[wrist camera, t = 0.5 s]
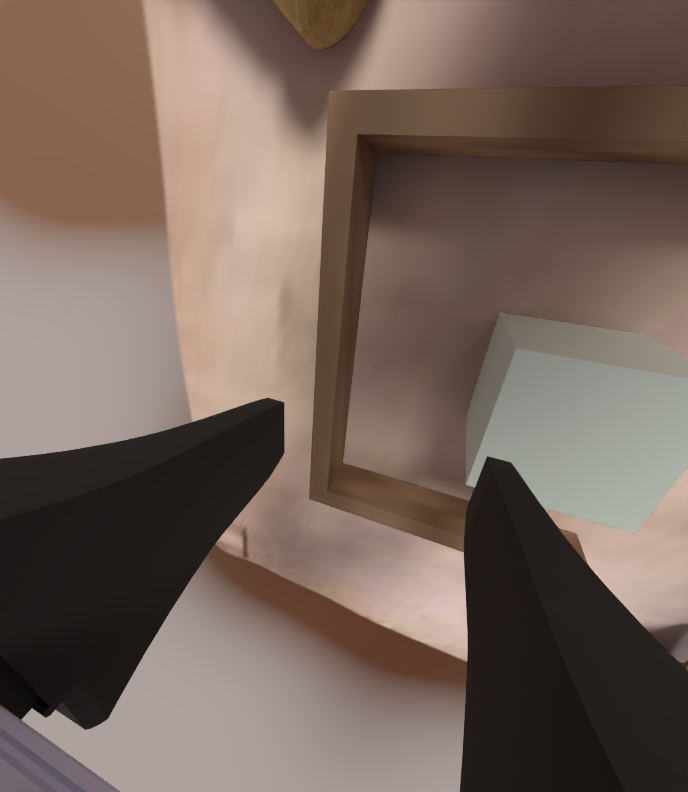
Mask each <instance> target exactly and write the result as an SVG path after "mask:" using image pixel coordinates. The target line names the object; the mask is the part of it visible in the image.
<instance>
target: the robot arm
mask: <svg viewBox="0 0 688 792" xmlns="http://www.w3.org/2000/svg"><path fill="white" fill-rule="evenodd" d="M283 454H284V402H281V401H277V400H273V399H270V398H265V399H261V400H258V401H255V402H251V403H248V404H245V405H242V406H239V407H237V408H234V409H231V410H228V411H225V412H222V413H219V414H216V415H213V416H210V417H207V418H204V419H201V420H198V421H195V422H192V423H188V424H185V425H182V426H179V427H175V428H172V429H169V430H165V431H162V432H158V433H154V434H150V435H146V436H142V437H138V438H133V439H129V440H124V441H120V442H115V443H110V444H103V445H98V446H92V447H86V448H81V449H75V450H69V451H62V452H55V453H47V454H40V455H31V456H22V457H13V458H3V459H0V792H120V791H119V790H117V789H116V788H115V787H113V786H112V785H110V784H109V783H108V782H106V781H105V780H103V779H102V778H101V777H99V776H98V775H97V774H95V773H94V772H92V771H91V770H90V769H88V768H87V767H85V766H84V765H83V764H81V763H80V762H79V761H77V760H76V759H74V758H73V757H71V756H70V755H69V754H67V753H66V752H65V751H63V750H62V749H60V748H59V747H58V746H56V745H55V744H53V743H52V742H51V741H49V740H48V739H47V738H45V737H44V736H42V735H41V734H40V733H38V732H37V731H35V730H34V729H33V728H31V727H30V726H29V725H27V724H26V723H24V722H23V721H22V720H21V719H22V718H23V717H24V716H25V715H26V714H27V712H29V711H30V710H31V708H33V709H34V710H35V711H37V712H39V713H40V714H41V715H43V716H44V717H48V716H50V715H51V714H52V712H54V710H55V709H56V710H57V711H59V712H60V713H61V714H63V715H65V716H66V717H67V718H69V719H70V720H72V721H73V722H75V723H76V724H78V725H79V726H81V727H82V728H84V729H90V728H93V727H95V726H97V725H99V724H101V723H102V722H104V721H105V720H107V719H108V718H109V716H110V714H111V712H112V710H113V708H114V707H115V705H116V703H117V701H118V699H119V698H120V696H121V694H122V692H123V691H124V689H125V687H126V685H127V683H128V682H129V680H130V678H131V677H132V675H133V673H134V671H135V670H136V668H137V666H138V664H139V662H140V661H141V659H142V657H143V655H144V654H145V652H146V650H147V649H148V647H149V645H150V644H151V642H152V640H153V639H154V637H155V635H156V634H157V632H158V631H159V629H160V627H161V626H162V624H163V622H164V621H165V619H166V617H167V616H168V614H169V612H170V610H171V609H172V608H173V606H174V605H175V603H176V601H177V600H178V598H179V597H180V595H181V594H182V592H183V591H184V589H185V588H186V586H187V584H188V583H189V581H190V580H191V578H192V577H193V575H194V574H195V572H196V571H197V569H198V568H199V566H200V565H201V563H202V562H203V560H204V559H205V558H206V556H207V555H208V553H209V552H210V550H211V549H212V547H213V546H214V545H215V543H216V542H217V541H218V539H219V538H220V537H221V535H222V534H223V533H224V532H225V530H226V529H227V528H228V527H229V526H230V524H231V523H232V522H233V521H234V520H235V518H236V517H237V516H238V515H239V514H240V512H241V511H242V510H243V509H244V508H245V506H246V505H247V504H248V503H249V502H250V500H251V499H252V498H253V497H254V496H255V494H256V493H257V492H258V491H259V490H260V488H261V487H262V486H263V485H264V483H265V482H266V481H267V480H268V478H269V477H270V475H271V474H272V472H273V471H274V469H275V468H276V466H277V464H278V463H279V461H280V459H281V458H282V456H283ZM464 565H465V587H466V607H467V628H468V660H467V683H466V705H465V721H464V741H463V756H462V770H461V784H460V792H688V671H687V670H686V669H685V668H684V667H683V666H682V665H681V664H680V663H679V662H678V661H677V660H676V659H675V658H674V657H673V656H672V655H671V654H670V653H669V652H668V651H667V650H666V649H665V648H664V647H663V646H662V645H661V644H660V643H659V642H658V641H657V640H656V639H655V638H654V637H653V636H652V635H651V634H650V633H649V632H648V631H647V630H646V629H645V628H644V627H643V626H642V625H641V623H640V622H639V621H638V620H637V619H636V618H635V617H634V616H633V615H632V614H631V613H630V612H629V610H628V609H627V608H626V607H625V606H624V605H623V604H622V603H621V602H620V601H619V600H618V599H617V598H616V596H615V595H614V594H613V593H612V592H611V591H610V590H609V589H608V588H607V587H606V585H605V584H604V583H603V582H602V581H601V580H600V579H599V577H598V576H597V575H596V574H595V573H594V572H593V570H592V569H591V568H590V567H589V566H588V564H587V563H586V562H585V561H584V560H583V558H582V557H581V556H580V555H579V553H578V552H577V551H576V550H575V549H574V547H573V546H572V545H571V544H570V542H569V541H568V540H567V539H566V537H565V536H564V535H563V533H562V532H561V531H560V530H559V528H558V527H557V526H556V524H555V523H554V522H553V520H552V519H551V518H550V516H549V515H548V514H547V512H546V511H545V509H544V508H543V507H542V505H541V504H540V503H539V501H538V500H537V498H536V497H535V495H534V494H533V493H532V491H531V490H530V488H529V487H528V485H527V484H526V483H525V481H524V480H523V478H522V477H521V475H520V474H519V472H518V471H517V470H516V468H515V467H514V465H513V464H512V463H511V462H508V461H504V460H500V459H496V458H493V457H489V456H487V458H486V460H485V463H484V465H483V468H482V471H481V473H480V476H479V478H478V481H477V483H476V486H475V488H474V491H473V494H472V496H471V499H470V501H469V504H468V506H467V509H466V519H465V531H464Z"/></svg>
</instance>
